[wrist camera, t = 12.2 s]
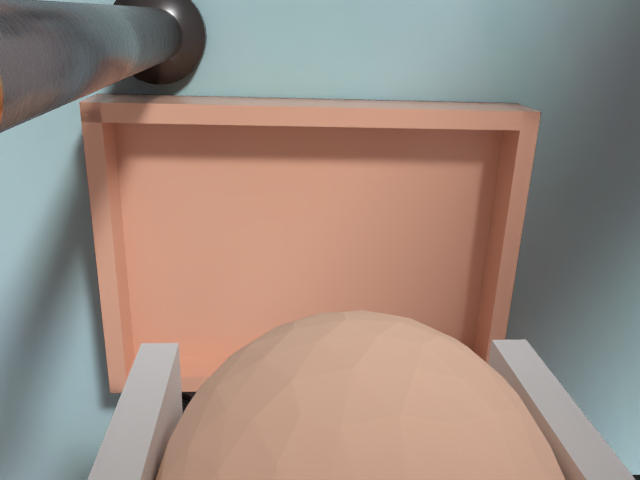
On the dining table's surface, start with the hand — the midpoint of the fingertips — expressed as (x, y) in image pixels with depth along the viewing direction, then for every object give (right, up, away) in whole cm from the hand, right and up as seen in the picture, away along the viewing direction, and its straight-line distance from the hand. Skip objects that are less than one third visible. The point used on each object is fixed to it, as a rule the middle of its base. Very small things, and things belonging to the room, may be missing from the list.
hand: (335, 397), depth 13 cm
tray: (-1, +3, +9) cm, 10 cm away
